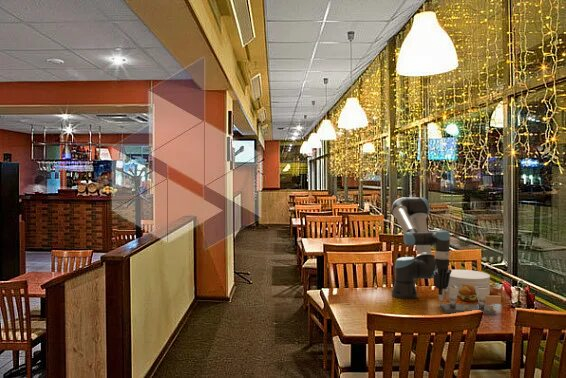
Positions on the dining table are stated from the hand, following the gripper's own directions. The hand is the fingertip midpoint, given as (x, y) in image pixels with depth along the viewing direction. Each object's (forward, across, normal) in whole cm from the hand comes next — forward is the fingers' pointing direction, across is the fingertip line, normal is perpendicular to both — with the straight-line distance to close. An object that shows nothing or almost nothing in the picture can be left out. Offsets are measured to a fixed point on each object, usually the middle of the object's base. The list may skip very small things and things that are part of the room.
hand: (441, 300), depth 258 cm
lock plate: (+4, +6, -12) cm, 14 cm away
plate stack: (+4, +42, +17) cm, 45 cm away
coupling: (-1, +3, -4) cm, 5 cm away
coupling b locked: (-1, +16, -18) cm, 24 cm away
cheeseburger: (+4, +26, +3) cm, 27 cm away
